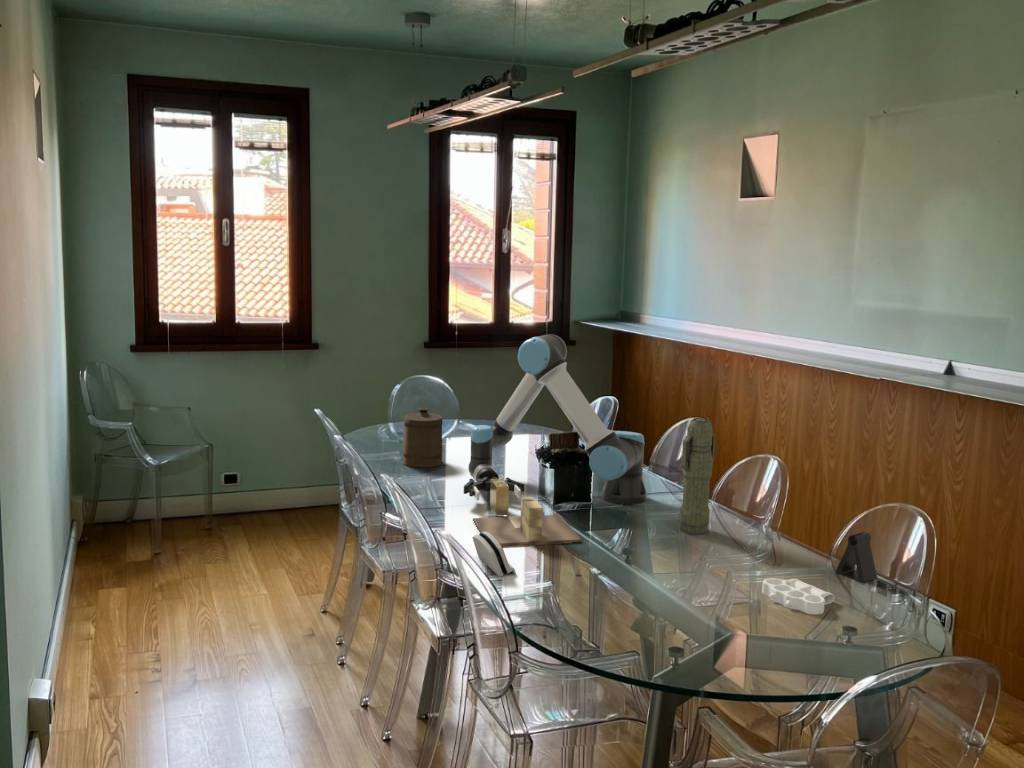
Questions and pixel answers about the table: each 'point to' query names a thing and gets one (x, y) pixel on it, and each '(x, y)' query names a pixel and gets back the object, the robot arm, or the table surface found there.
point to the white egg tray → (797, 595)
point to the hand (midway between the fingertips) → (499, 495)
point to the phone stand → (858, 559)
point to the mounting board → (516, 537)
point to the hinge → (492, 553)
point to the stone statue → (697, 476)
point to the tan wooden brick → (499, 497)
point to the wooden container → (422, 439)
